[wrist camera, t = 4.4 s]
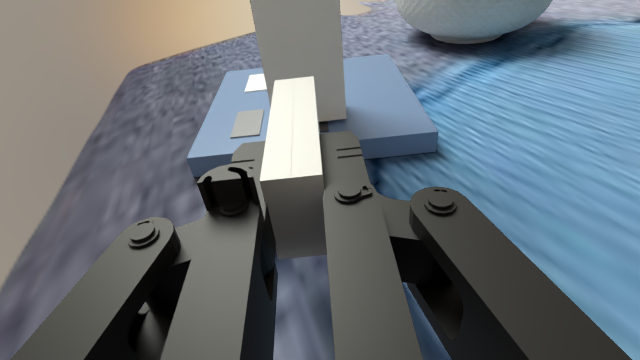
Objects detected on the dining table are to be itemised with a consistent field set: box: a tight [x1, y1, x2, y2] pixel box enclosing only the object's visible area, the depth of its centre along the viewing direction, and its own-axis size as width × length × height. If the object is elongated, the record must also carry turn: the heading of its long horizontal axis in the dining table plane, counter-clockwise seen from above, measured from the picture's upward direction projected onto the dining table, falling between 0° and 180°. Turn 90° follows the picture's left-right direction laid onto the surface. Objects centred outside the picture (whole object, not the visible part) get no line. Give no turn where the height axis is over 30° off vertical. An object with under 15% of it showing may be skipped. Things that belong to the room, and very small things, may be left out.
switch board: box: [187, 54, 438, 177], centre depth 30 cm, size 16×16×2 cm
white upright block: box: [250, 0, 347, 122], centre depth 22 cm, size 3×5×14 cm, turn 93°
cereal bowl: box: [396, 0, 552, 44], centre depth 42 cm, size 17×17×7 cm
